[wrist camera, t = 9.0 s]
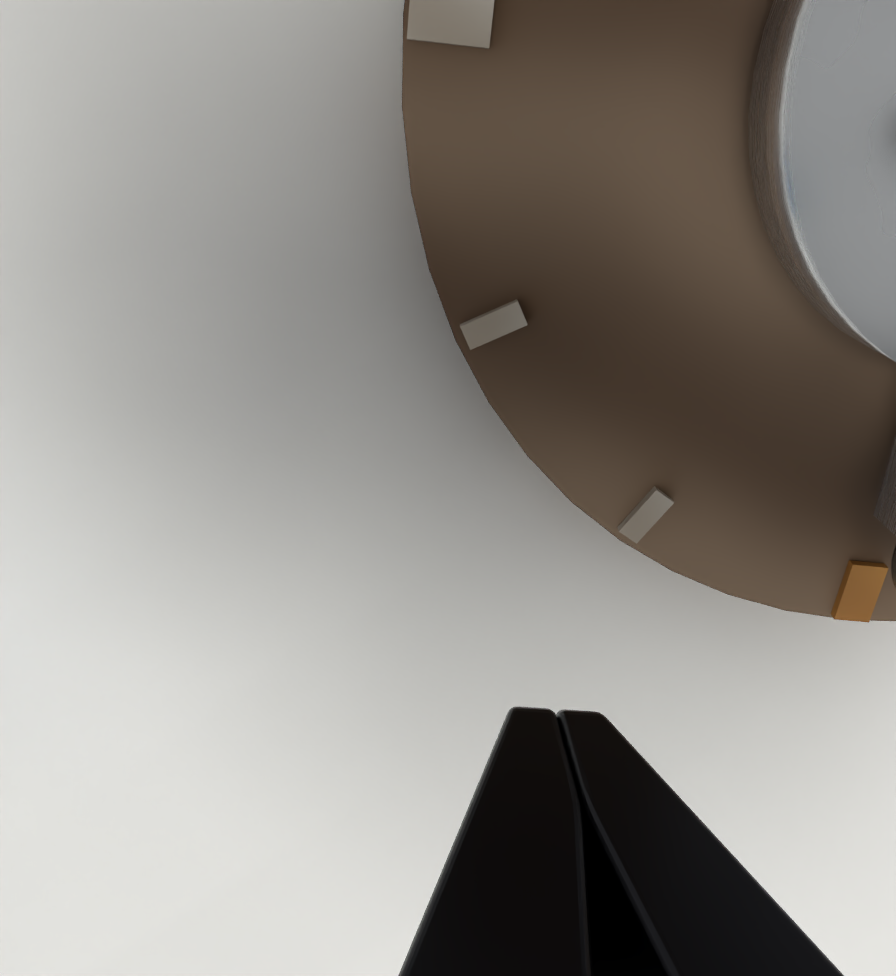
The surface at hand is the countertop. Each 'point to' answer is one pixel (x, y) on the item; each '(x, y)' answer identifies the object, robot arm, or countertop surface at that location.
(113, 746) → the countertop surface
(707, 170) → the dial base plate
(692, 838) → the robot arm
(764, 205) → the dial
